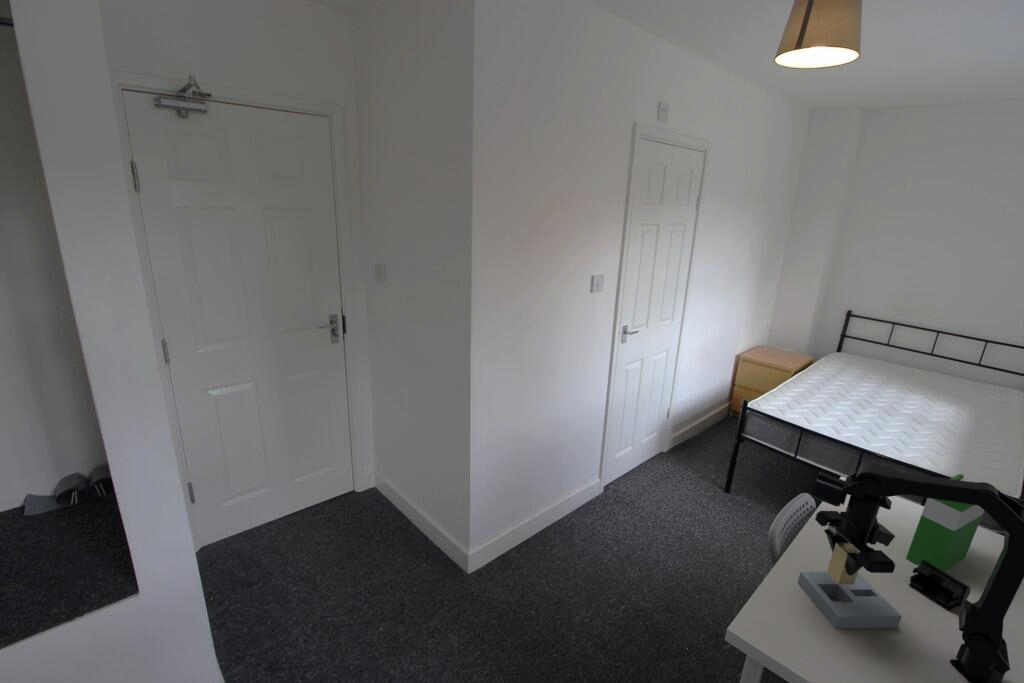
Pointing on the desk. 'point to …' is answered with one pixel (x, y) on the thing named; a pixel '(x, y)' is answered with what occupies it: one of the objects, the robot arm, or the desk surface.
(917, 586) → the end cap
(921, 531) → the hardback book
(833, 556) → the brass square bit
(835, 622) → the slate bore board
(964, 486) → the robot arm
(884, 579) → the desk surface
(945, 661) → the desk surface
